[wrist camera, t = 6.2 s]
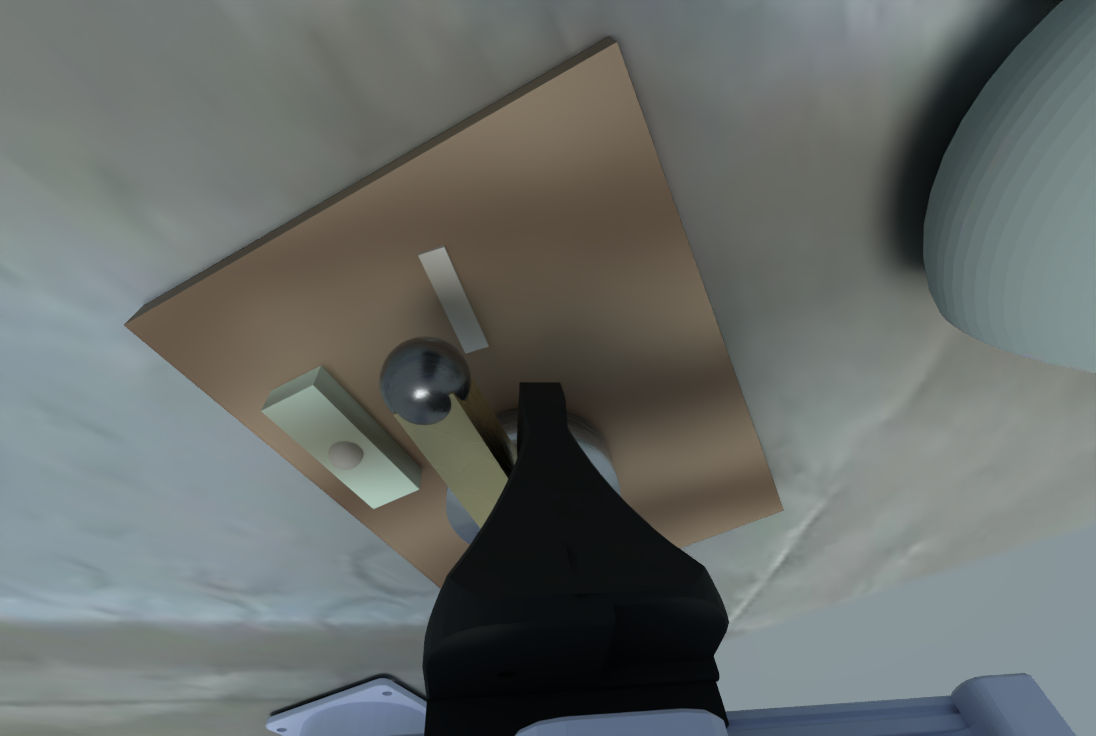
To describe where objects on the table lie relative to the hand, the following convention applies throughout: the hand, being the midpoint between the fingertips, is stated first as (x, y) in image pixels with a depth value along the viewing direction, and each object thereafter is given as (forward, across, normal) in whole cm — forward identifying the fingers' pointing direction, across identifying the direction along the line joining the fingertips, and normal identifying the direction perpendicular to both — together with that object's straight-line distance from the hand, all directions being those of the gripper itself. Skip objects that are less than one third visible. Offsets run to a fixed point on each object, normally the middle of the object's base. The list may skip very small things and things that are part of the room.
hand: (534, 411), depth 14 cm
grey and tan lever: (+2, +1, +2) cm, 3 cm away
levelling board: (+3, 0, +3) cm, 5 cm away
